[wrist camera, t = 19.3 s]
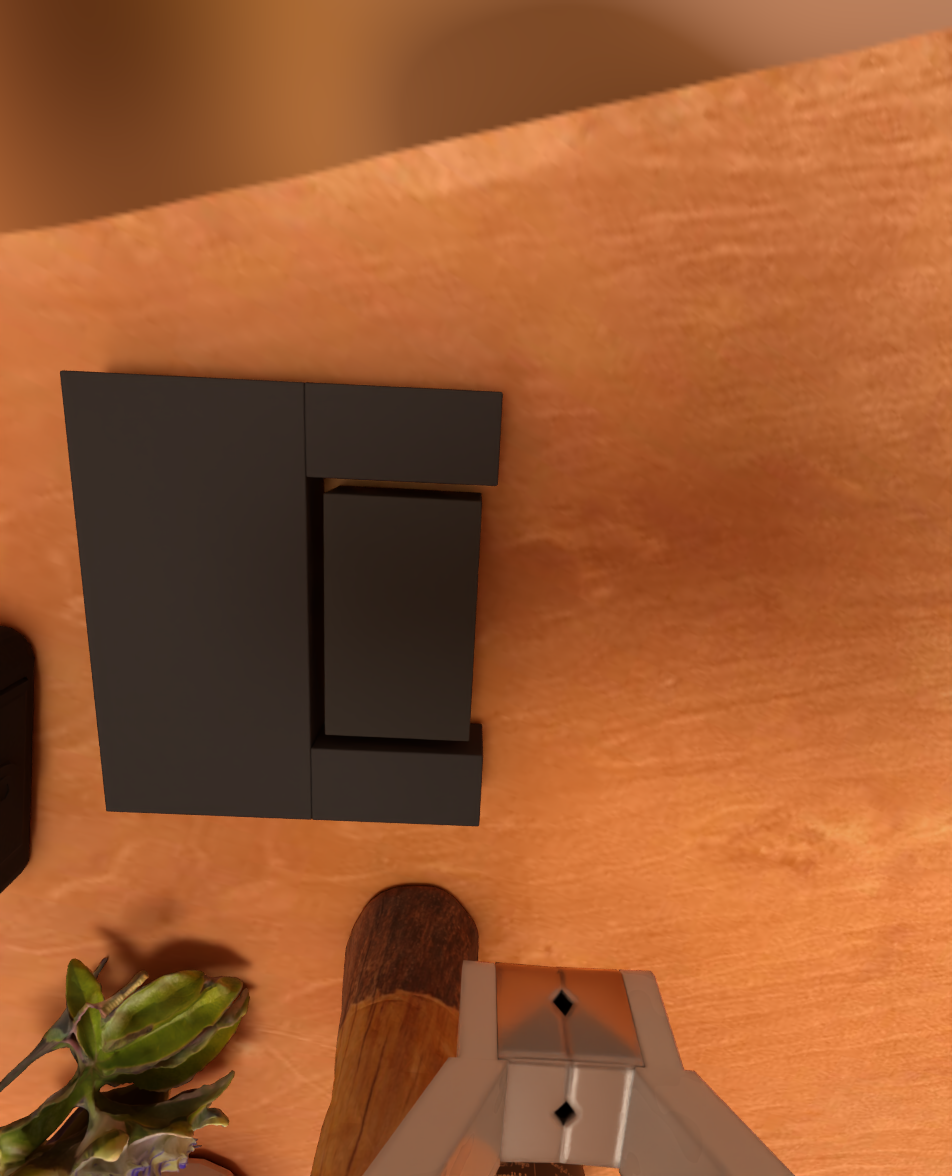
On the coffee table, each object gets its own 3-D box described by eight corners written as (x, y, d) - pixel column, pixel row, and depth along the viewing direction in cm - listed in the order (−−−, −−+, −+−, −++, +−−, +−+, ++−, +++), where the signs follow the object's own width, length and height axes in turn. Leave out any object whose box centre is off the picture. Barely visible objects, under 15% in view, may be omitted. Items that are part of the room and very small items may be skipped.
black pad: (339, 485, 27) (322, 493, 25) (481, 492, 28) (482, 501, 25) (339, 704, 30) (324, 735, 27) (469, 710, 30) (469, 741, 27)
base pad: (104, 375, 26) (58, 370, 23) (499, 395, 27) (503, 391, 24) (140, 775, 31) (105, 812, 28) (478, 789, 31) (479, 827, 28)
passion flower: (203, 987, 40) (22, 1226, 32) (90, 874, 36) (-153, 1117, 28) (321, 1047, 34) (130, 1370, 25) (200, 917, 29) (-79, 1257, 21)
